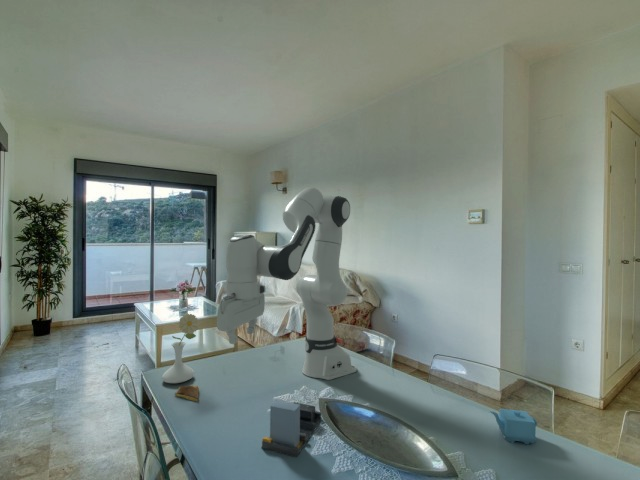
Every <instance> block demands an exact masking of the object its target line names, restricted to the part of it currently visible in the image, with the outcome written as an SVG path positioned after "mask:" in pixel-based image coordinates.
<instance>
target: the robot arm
mask: <svg viewBox="0 0 640 480" xmlns="http://www.w3.org/2000/svg"><path fill="white" fill-rule="evenodd" d="M350 213H351V204H350V201H349V200H348V199H347V198H346V197H343V196H340V195H337V196H335V195H328V194H327V195H324V194H322V192H321V191H320V190H319V189H317V188H315V187H309V186H308V187H305V188H304V189H302V190H301V191H299V192H298V193H297V194H296V195H295V196H293V198H292V199H291V200H290V201H289V202H288V204H286V206H285V207H284V209H283V212H282V221H283V224H284V225H285V226H286V228H287V229H288V230H289V231H290V232H292V233H293V234H292V237H291V238H290V240H289V241H288V243H286V244H283V245H266V244H264V243H261V242H260V241H259V240H257V239H256V237H255V235H253V234H239V235H235V236H232V237H230V239H229V240H228V243H227V246H226V254H225V255H226V257H225V258H226V259H225V260H226V261H225V264H226V265H225V267H226V270H227V275H226V279H225V280H226V281H225V282H226V283H225V284H226V286H225V287H226V293H225V294H226V295H225V296H223V297H222V299H221V301H220V302H219V305H218V308H217V313H216V314H217V315H216V327H217V331H219V332H220V331H221V332H226V334H227V337H228V343H229V344H230V345H235V344H236V343H238V339H239V338H238V336H237V335H236V333H235V332H236V330H237V328H238V327H241V326H242V325H245V324H246V323H247V324H248V326H247V328H246V332H247V334H250V335H252V334H254V333H255V331H256V329H255V328H256V324H257V321H258V318H259V317H260V316H263V314H264V313H265V312H264V311H265V307H266V306H265V303H266V301H265V300H266V299H265V293H266V286H265V285H263V284H260V283H258V277H264V278H265V277H266V278H275V279H278V280H283V281H289V280H291V279H293V278H294V277H295V276H296V275H297V274H298V273H299V271H300V268H301V265H302V261H303V259H304V258H303V257H304V255H305V253H306V251H307V249H308V247H309V245H310V243H311V241H312V238H313V237H314V234H315V231H316V234H315V239H314V244H313V245H314V246H313V251H312V257H311V258H312V262H313V263H314V265H315V268H316V274H307V275H303V276H301V277H300V278H299V279H298V280H297V282H296V288H295V289H296V293H297V294H298V296H299V298H301V301H302V304H303V309H304V312H305V313H304V314H305V318H306V319H305V320H306V336H305V340H304V341H305V342H304V348H305V356H304V363H303V366H302V369H301V371H302V373H303V374H304V375H305V376H307V377H309V378H315V379H323V380H327V381H331V380H334V379H338V378H340V377H344V376H347V375H351V374H353V373H356V372H357V371H358V370H357V367H356V365H355V364H354V363H352V360H351V357H350V354H349V353H348V352H347V351H346V350H344V348H342V347H341V346H339V345H340V344H342V342H343V340H342V338H340V337H336V336H335V335H334V331H335V330H334V328H335V327H334V324H335V323H334V322H335V321H334V320H335V318H334V317H333V314H332V313H331V312H330V309H329V308H328V307H329V306H331V307H335V306H340V305H342V304H343V303H344V302H345V301H346V298H347V296H348V288H347V286H346V284H345V283H344V281H343V280H342V276H341V272H340V256H341V250H342V242H343V241H342V240H343V225H344V224H345V223H346V222H347V221H348V219H349V217H350V215H351V214H350ZM316 224H318V228H317V230H316Z"/></svg>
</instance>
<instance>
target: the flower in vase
mask: <svg viewBox="0 0 640 480" xmlns="http://www.w3.org/2000/svg"><path fill="white" fill-rule="evenodd" d="M179 318H180V319H179V322H178V328H179V329H180V330H181V332H182V333H184V335H183V336H182V338H181V337H175V336H174V335H172V336H171V337H172V338H173V339H175V340H180V341H176V342H173V343H171V346H172V348H173V349H174V356H175V359H174V363H173V365H171V366H170V367H169V368H168V369H167V370H166V371H165V372H164V373H163V374H162V376H161V379H162V381H163V382H165V383H167V384H180V383H184V382H186V381H189V380H190V379H191V380H192V378H193V377H194V375H195V371H194V370H193V368H191V367H190V366H189V365H186V364H185V363H184V362H183V359H182V358H183V357H182V356H183V349H184V347H185V345H186V344H187V342H185V341H183V340H184V338H185V337H186V339H188V340H191V339H192V340H193V339H194V338H196V337H197V335H196V334H195V332H197V331H198V330H199V327H200V321H199V319H198V317H197V316H196V315H195V314H192V313H185V314H183V316H181V317H179Z"/></svg>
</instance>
